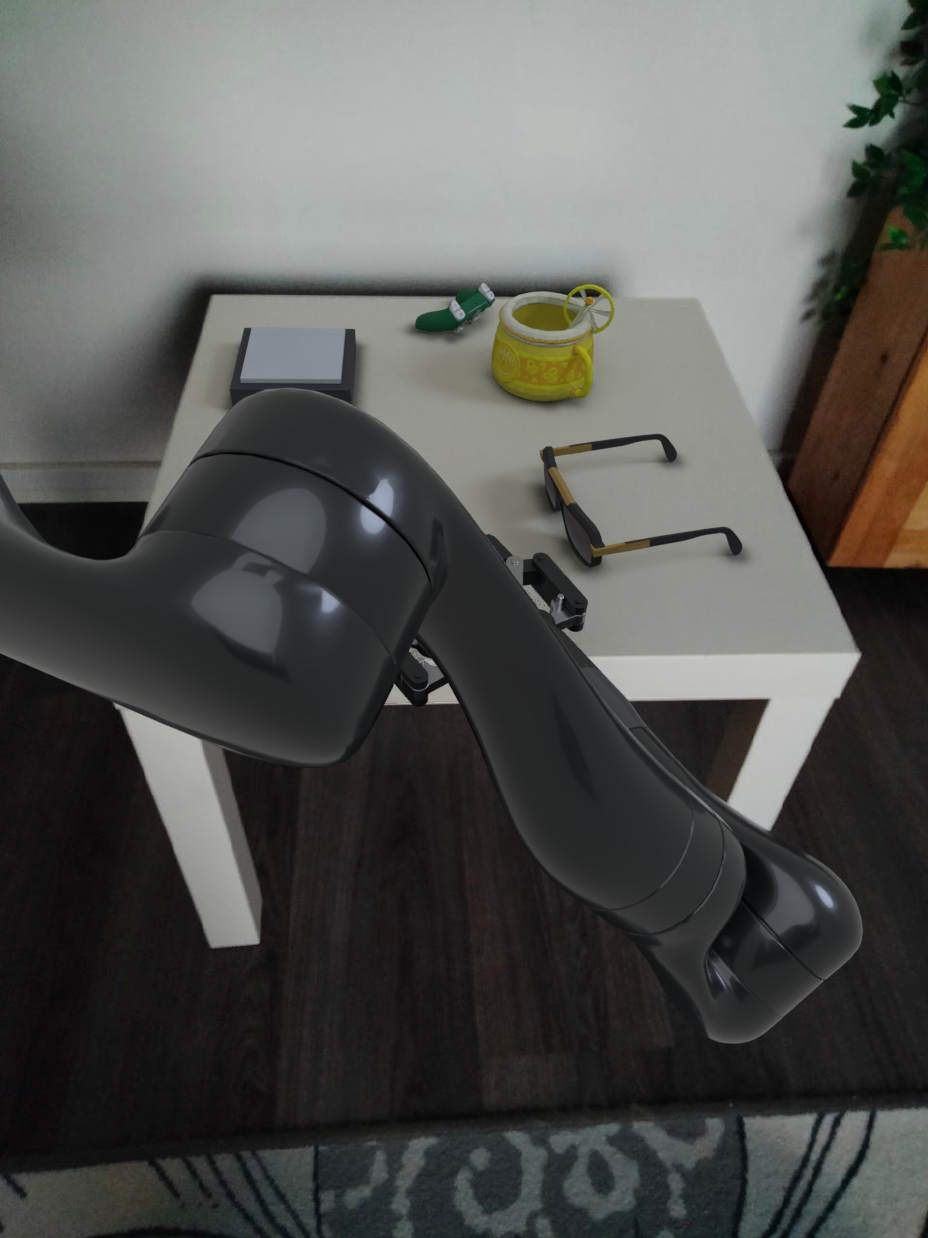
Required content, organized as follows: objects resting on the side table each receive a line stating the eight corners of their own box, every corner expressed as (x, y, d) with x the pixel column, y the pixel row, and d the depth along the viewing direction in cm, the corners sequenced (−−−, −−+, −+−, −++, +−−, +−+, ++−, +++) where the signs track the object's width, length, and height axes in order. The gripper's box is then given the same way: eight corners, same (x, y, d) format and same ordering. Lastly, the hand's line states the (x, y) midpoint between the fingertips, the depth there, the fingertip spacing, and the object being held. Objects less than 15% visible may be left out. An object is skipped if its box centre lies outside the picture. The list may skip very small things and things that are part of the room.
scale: (351, 410, 91) (350, 384, 89) (232, 409, 91) (228, 384, 88) (356, 348, 100) (354, 323, 97) (247, 347, 99) (243, 321, 97)
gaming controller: (427, 351, 103) (458, 330, 98) (409, 322, 102) (439, 299, 97) (475, 321, 108) (506, 300, 103) (458, 292, 107) (489, 270, 102)
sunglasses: (740, 555, 79) (755, 511, 75) (577, 582, 75) (585, 538, 72) (674, 460, 88) (685, 416, 84) (526, 481, 85) (531, 437, 81)
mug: (468, 374, 97) (473, 266, 88) (544, 344, 102) (556, 239, 93) (545, 431, 90) (559, 321, 81) (623, 397, 95) (644, 289, 86)
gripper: (659, 631, 55) (509, 487, 64) (463, 729, 49) (330, 556, 59) (638, 706, 60) (502, 563, 69) (459, 802, 55) (338, 633, 64)
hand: (424, 560), depth 64 cm, fingers open, 8 cm apart
